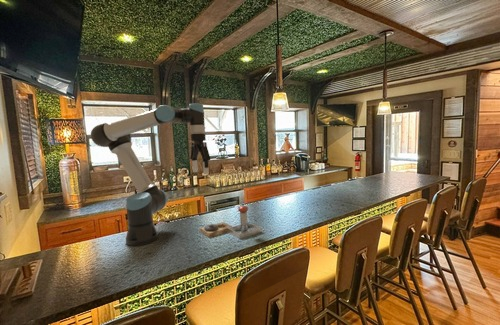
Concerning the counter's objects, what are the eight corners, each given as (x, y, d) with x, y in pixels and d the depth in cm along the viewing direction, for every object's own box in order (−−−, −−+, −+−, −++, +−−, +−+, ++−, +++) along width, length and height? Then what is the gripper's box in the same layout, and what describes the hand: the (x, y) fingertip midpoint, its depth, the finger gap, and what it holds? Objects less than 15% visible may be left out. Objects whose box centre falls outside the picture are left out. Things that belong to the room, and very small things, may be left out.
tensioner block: (208, 239, 124) (208, 229, 124) (200, 233, 132) (199, 224, 132) (232, 232, 132) (232, 222, 132) (223, 227, 140) (222, 218, 140)
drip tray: (239, 240, 120) (239, 234, 120) (227, 234, 129) (227, 228, 129) (261, 233, 128) (260, 227, 128) (248, 228, 137) (248, 222, 137)
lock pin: (243, 235, 125) (241, 209, 124) (237, 232, 129) (236, 207, 128) (251, 233, 128) (250, 207, 127) (245, 230, 132) (244, 205, 131)
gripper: (215, 132, 125) (217, 174, 127) (195, 134, 145) (197, 170, 147) (201, 132, 120) (204, 175, 122) (182, 134, 141) (185, 172, 142)
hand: (200, 173), depth 135 cm, fingers open, 13 cm apart
